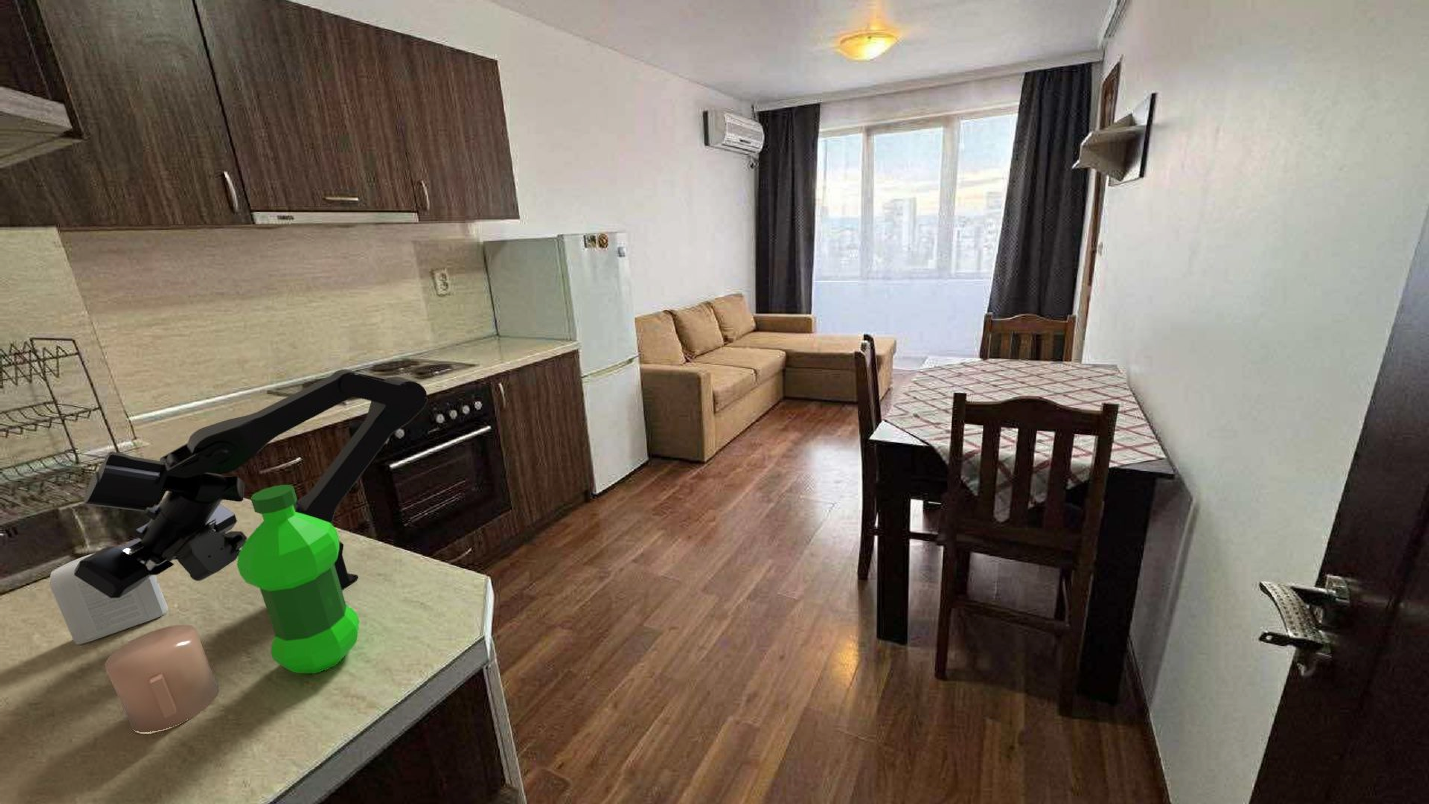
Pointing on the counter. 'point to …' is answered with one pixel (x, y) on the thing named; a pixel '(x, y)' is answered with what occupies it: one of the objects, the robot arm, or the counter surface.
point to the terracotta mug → (162, 678)
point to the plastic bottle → (298, 583)
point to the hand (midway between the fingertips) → (140, 579)
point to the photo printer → (103, 605)
